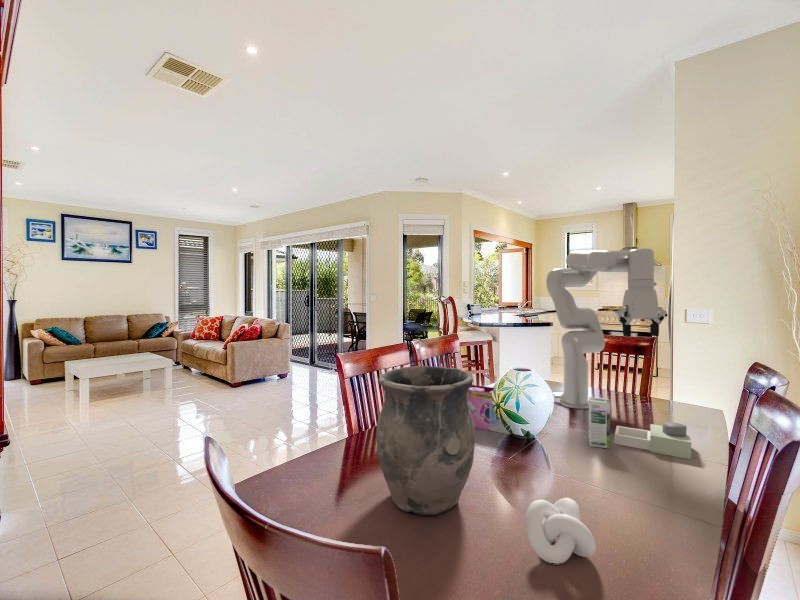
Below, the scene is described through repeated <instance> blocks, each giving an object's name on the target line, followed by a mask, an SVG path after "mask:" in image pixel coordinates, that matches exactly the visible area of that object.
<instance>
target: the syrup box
mask: <svg viewBox="0 0 800 600" xmlns="http://www.w3.org/2000/svg"><path fill="white" fill-rule="evenodd" d="M588 401H589V408H588V443H589V444H588V445H589V447H594V448H595V447H596V448H601V449H611V402H610V399H609V398H602V397H601V398H600V397H591V396H588Z"/></svg>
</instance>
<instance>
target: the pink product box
mask: <svg viewBox="0 0 800 600" xmlns="http://www.w3.org/2000/svg"><path fill="white" fill-rule="evenodd" d="M494 388H495V387H493V386H492V387H490V386H485V385H484V386H483V385H477V384H471V386H470V388H469V390H468V392H467V400H468V404H469V407H470V410H471V414H472V418H473V423H474V429H480V430H486V431H490V432H495V433H501V434H505V435H510V434H509V432H508V431H507V430H506V429H505V428H504V427H503V425H502V424H501V422H500V420H499V419H498V418H497V416H496V414H495V412H494V409H493V404H492V392H493V389H494Z"/></svg>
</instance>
